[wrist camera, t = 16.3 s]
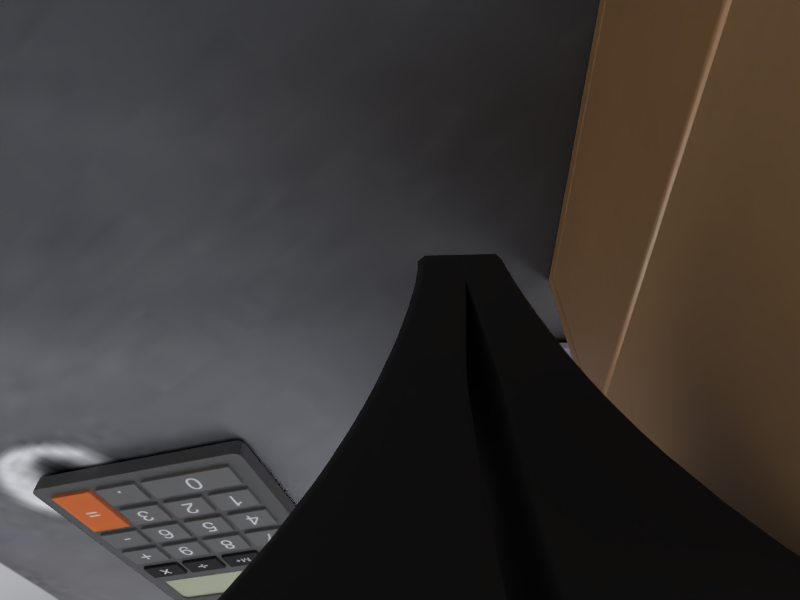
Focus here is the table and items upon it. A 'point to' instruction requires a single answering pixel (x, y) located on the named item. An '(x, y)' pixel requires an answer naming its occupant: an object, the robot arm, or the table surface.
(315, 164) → the table surface
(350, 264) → the table surface
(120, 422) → the table surface
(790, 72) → the flap
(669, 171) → the carton
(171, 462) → the calculator
